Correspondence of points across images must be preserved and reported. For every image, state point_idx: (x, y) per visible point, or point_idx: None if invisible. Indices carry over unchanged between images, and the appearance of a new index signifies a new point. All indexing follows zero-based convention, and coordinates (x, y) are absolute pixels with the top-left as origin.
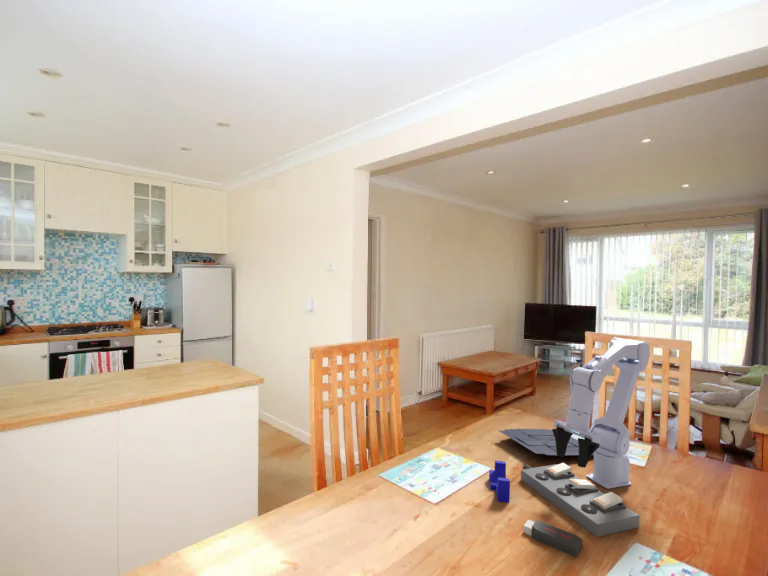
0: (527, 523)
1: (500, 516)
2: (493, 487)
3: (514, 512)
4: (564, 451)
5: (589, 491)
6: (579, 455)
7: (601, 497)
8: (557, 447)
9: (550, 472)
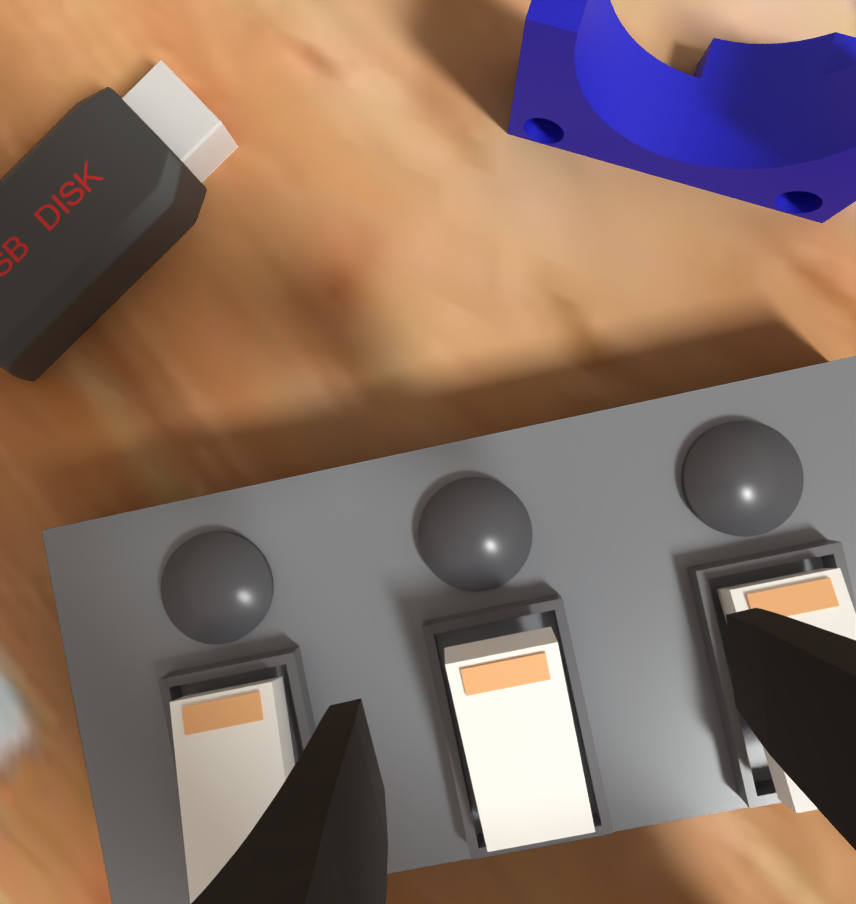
0: (176, 94)
1: (352, 10)
2: (698, 72)
3: (389, 121)
4: (794, 759)
5: (450, 753)
6: (308, 793)
7: (264, 759)
8: (831, 651)
9: (781, 577)
